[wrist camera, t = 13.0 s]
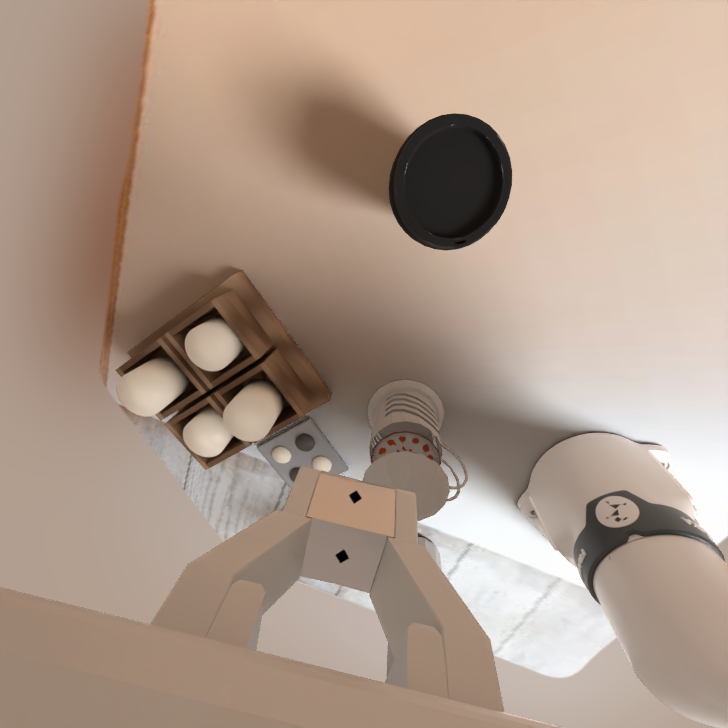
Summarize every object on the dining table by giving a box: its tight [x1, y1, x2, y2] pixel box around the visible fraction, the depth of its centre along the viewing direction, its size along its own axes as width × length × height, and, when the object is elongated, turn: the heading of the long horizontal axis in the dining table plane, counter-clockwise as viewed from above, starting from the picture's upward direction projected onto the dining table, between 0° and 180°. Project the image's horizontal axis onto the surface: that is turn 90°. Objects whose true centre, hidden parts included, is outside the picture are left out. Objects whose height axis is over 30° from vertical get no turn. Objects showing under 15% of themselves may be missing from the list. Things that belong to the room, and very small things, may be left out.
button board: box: [116, 271, 332, 470], centre depth 44 cm, size 18×18×6 cm
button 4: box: [183, 403, 233, 457], centre depth 45 cm, size 5×5×5 cm
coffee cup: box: [389, 114, 512, 250], centre depth 31 cm, size 8×8×15 cm
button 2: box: [117, 355, 190, 417], centre depth 41 cm, size 5×5×5 cm
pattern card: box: [257, 418, 348, 488], centre depth 51 cm, size 9×9×1 cm
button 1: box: [185, 314, 247, 371], centre depth 41 cm, size 5×5×5 cm
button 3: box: [223, 379, 285, 442], centre depth 40 cm, size 5×5×5 cm
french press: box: [363, 379, 468, 521], centre depth 36 cm, size 10×12×25 cm
